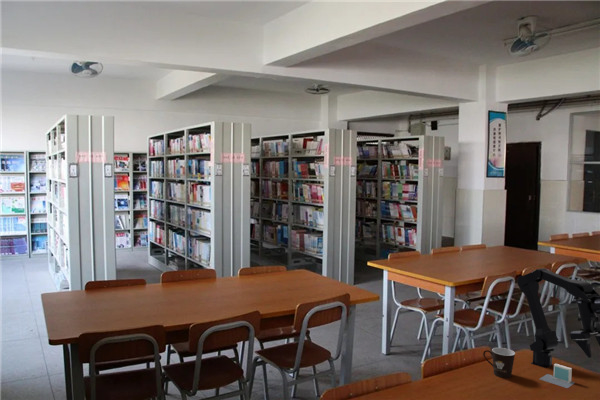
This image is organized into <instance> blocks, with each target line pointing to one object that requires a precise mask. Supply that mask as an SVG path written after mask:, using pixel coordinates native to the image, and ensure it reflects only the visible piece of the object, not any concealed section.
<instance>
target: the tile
mask: <svg viewBox="0 0 600 400" xmlns="http://www.w3.org/2000/svg"><path fill="white" fill-rule="evenodd" d="M572 371H573V368H572V367H568V366H565V365H562V364H558V363H554V364H553V378H555V379H558V380H561V381H564V382H567V383H570V382H571V381H572Z"/></svg>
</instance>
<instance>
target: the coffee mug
mask: <svg viewBox="0 0 600 400" xmlns="http://www.w3.org/2000/svg"><path fill="white" fill-rule="evenodd" d="M486 353H489V354H490V355H491V357H492V362H491V361H490V360H489V359H488V358H487V356H486V355H485V354H486ZM482 355H483V358H484V360H485V361H486V362H488V363H489V364H490V365H491V366H492V368H493V375H494V376H496V377H498V378H501V379H510V378H511V377H512V373H513V369H514V368H513V367H514V360H515V358H516V357H515V356H516V352H515V351H514V350H512V349H509V348H505V347H493V348H492V349H491V350H489V349H488V350H487V349H486V350H484V351H483V353H482Z"/></svg>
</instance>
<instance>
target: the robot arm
mask: <svg viewBox="0 0 600 400" xmlns="http://www.w3.org/2000/svg"><path fill="white" fill-rule="evenodd" d="M542 281H545V282H548V283H551V284H553V285H555V286H557V287H560V288H562V289H564V290H566V292H567V293H568V294H569V295H571V296H572V297H574V298H573V300H571V302H570V303H571V305H573V304H576V306H577V310H578V316H579V317H578V318H577V321H578V322H581V323H580V324H581V327H582V328H580V329H579V330H573V331H570V333H569V338H570V340H572V341H573V342H575V343H576V345H578V346H579V348H581V350H582V351H583V352H584V354H585V355H586V357H587V358H589V359H591V358H593V357H592V350H591V342H592V341H593V339H592V338H591V336H594V338H595V339H596V341H597V343H598V346H599V347H600V316H597V315H600V294H599V293H598V292H597V291H596V289H595V288H593V286H592V284H591V283H590V282H587V281H584V280H580V279H579V280H576V279H571V278H568V277H566V276H564V275H560V274H558V273H555V272H553V271H550V270H548V269H547V268H537V269H535V270H533V271H531V272H529V273H527V274H526V273H525V274H524V275H519V276H518V278H517V280H516V283H517V285H518V289H519V290H520V291H521V292H522V293H523V295H524V296H525V297H526V301H527V304H528V307H529V311H530V313H531V317H532V320H533V323H534V326H535V333H534V340H535V341H534V342H532V343H531V344H529V349H530V351H532V362H531V363H530V364H531V365H534V366H538V367H540V368H544V369H548V368H549V367H551V366H553V356H552V352H554V351H555V350H556V348H557V346H558V345H559V338H558V336H557V333H556V330H554V329H553V330H552V329H551V327H549V325H548V321H547V318H546V315H545V312H544V310H543V306H542V303H541V300H540V297H539V290H540V284H539V283H541V282H542Z"/></svg>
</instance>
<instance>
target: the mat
mask: <svg viewBox="0 0 600 400" xmlns="http://www.w3.org/2000/svg"><path fill="white" fill-rule="evenodd" d="M539 380H541V381H544V382H546V383H550V384H553V385H556V386H559V387H562V388H564V389H565V388H566V389H569V388H570V387H571V386H573V385H574V384H575V383H576V382H575V381H572V380H571V382H570V383H567V382H564V381H561V380H558V379H555V378H553V375H552V374H549V373H546V374H545V375H543V376H541V377H540V378H539Z"/></svg>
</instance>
